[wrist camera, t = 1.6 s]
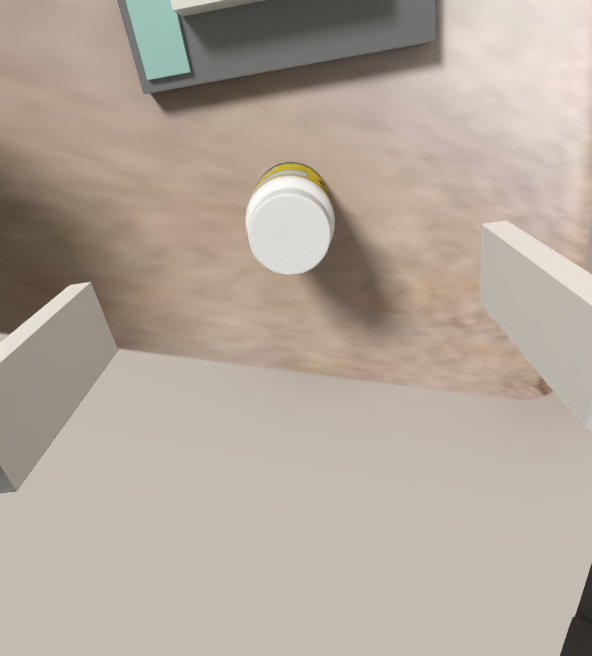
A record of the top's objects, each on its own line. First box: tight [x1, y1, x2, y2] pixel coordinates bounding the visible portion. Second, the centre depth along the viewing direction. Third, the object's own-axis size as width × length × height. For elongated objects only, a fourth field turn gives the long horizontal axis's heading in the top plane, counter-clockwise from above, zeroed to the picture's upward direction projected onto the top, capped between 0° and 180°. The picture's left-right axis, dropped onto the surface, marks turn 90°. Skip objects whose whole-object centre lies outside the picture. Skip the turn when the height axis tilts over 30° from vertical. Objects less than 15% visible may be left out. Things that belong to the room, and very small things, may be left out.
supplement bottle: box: [245, 162, 335, 275], centre depth 25 cm, size 5×5×8 cm
